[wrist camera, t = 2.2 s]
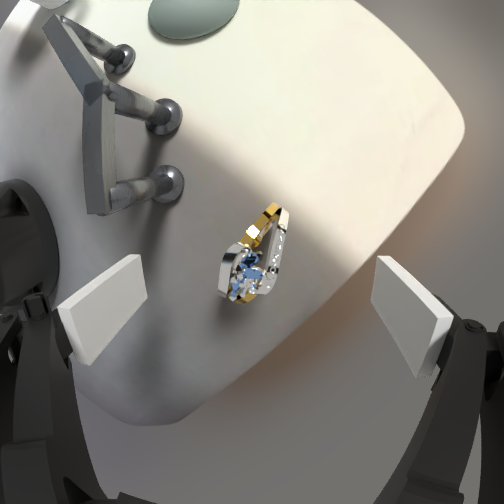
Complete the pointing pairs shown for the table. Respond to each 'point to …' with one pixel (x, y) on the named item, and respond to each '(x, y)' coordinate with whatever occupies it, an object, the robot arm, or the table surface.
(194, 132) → the table surface
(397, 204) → the table surface
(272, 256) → the ring
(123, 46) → the bent grey rail
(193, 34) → the felt coaster
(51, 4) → the mug
